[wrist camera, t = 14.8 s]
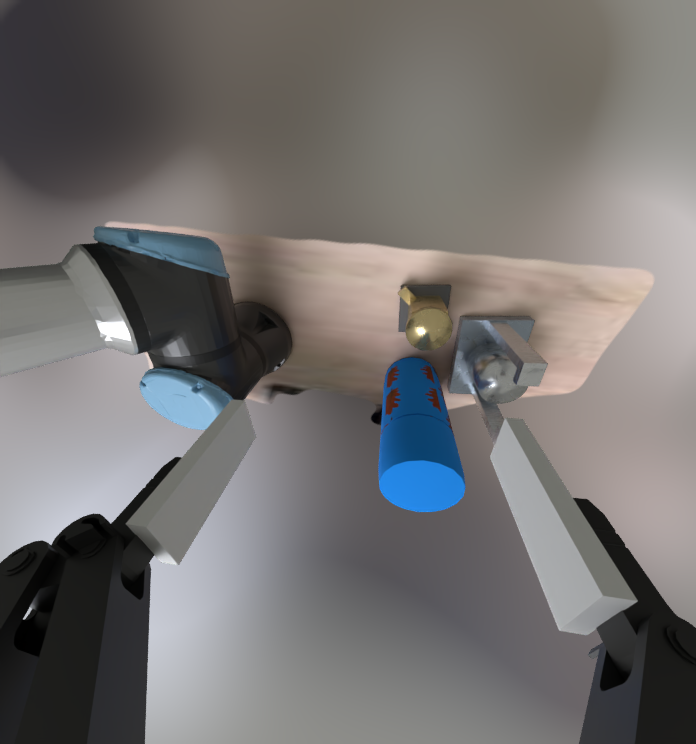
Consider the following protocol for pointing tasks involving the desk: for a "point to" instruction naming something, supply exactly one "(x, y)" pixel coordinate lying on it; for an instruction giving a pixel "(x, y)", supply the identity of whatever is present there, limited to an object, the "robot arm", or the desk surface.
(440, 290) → the rubber mat
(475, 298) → the desk surface
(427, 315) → the brass cap
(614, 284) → the desk surface
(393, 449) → the thermos
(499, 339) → the grey metal stand
